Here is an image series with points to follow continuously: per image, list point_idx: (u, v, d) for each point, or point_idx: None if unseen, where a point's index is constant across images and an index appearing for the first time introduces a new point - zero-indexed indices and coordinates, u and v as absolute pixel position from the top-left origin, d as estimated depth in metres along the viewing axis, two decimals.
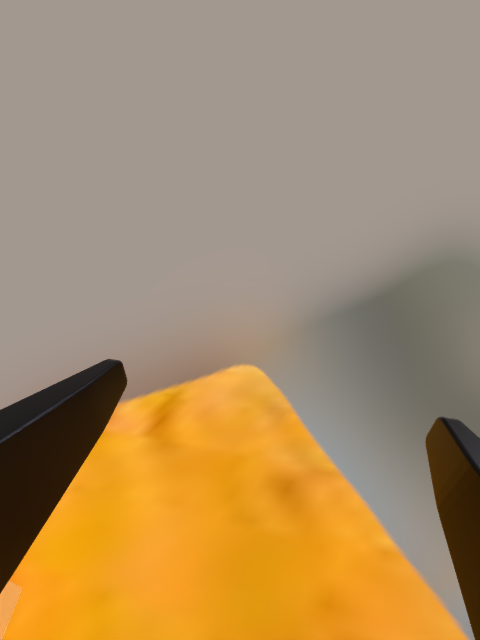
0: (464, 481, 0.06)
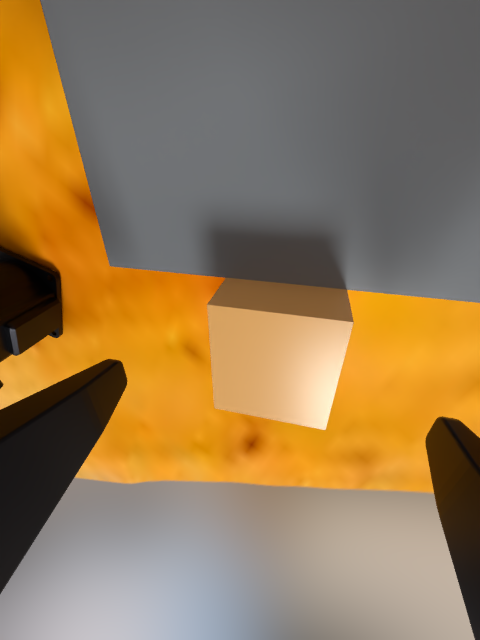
0: (464, 481, 0.06)
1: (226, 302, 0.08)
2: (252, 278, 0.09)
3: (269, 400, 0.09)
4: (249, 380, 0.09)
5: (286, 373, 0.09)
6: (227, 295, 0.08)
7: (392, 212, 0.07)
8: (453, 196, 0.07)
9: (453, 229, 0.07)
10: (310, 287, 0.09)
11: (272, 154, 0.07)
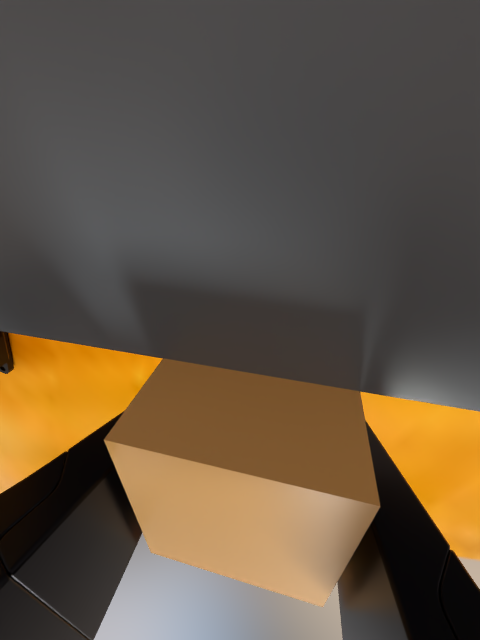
0: None
1: (142, 431, 0.04)
2: (203, 363, 0.06)
3: (231, 563, 0.06)
4: (195, 536, 0.05)
5: (255, 541, 0.05)
6: (150, 409, 0.05)
7: (455, 277, 0.04)
8: None
9: None
10: (298, 385, 0.05)
11: (219, 161, 0.04)
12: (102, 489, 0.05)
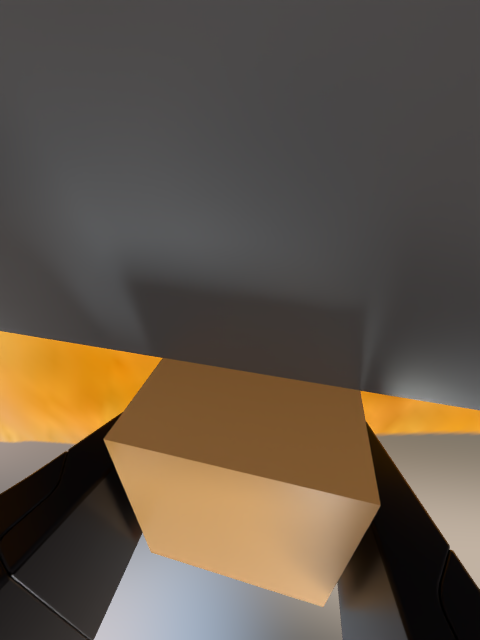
0: None
1: (142, 430, 0.04)
2: (203, 362, 0.06)
3: (231, 563, 0.06)
4: (195, 535, 0.05)
5: (255, 541, 0.05)
6: (150, 408, 0.05)
7: (455, 275, 0.04)
8: None
9: None
10: (298, 384, 0.05)
11: (219, 159, 0.04)
12: (102, 489, 0.05)
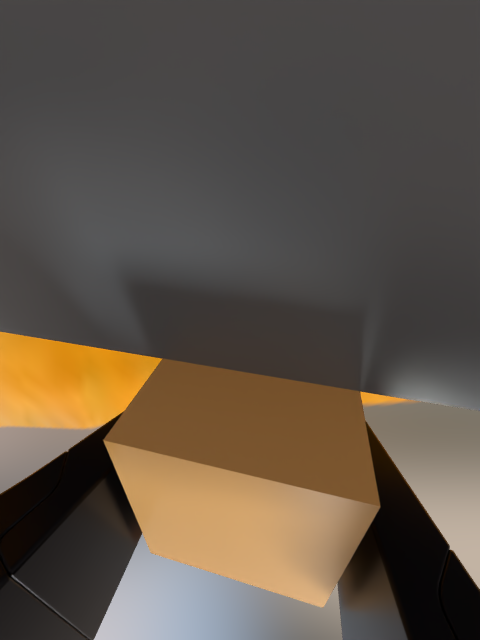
0: None
1: (141, 432, 0.04)
2: (203, 363, 0.06)
3: (231, 563, 0.06)
4: (194, 537, 0.05)
5: (255, 542, 0.05)
6: (149, 410, 0.05)
7: (455, 276, 0.04)
8: None
9: None
10: (298, 385, 0.05)
11: (218, 161, 0.04)
12: (102, 489, 0.05)
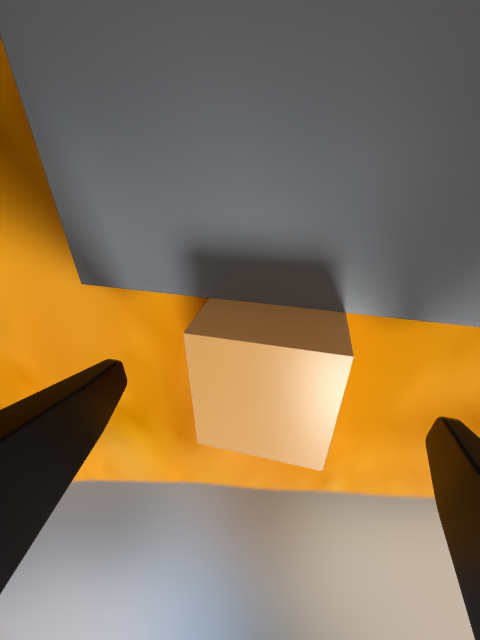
0: (464, 481, 0.06)
1: (206, 330, 0.07)
2: (238, 299, 0.08)
3: (258, 438, 0.08)
4: (234, 415, 0.08)
5: (277, 409, 0.07)
6: (208, 320, 0.07)
7: (397, 226, 0.06)
8: (470, 208, 0.06)
9: (469, 245, 0.06)
10: (304, 310, 0.08)
11: (257, 159, 0.06)
12: None
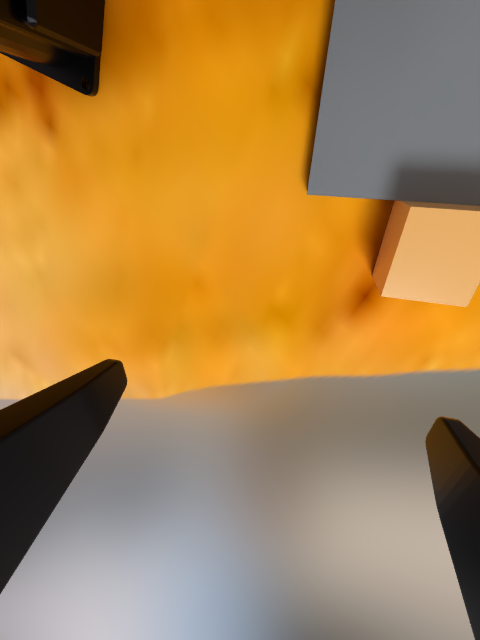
0: (464, 481, 0.06)
1: (421, 206, 0.12)
2: (420, 200, 0.14)
3: (429, 285, 0.14)
4: (419, 267, 0.13)
5: (452, 258, 0.13)
6: (416, 204, 0.13)
7: None
8: None
9: None
10: (464, 205, 0.13)
11: (464, 108, 0.12)
12: None
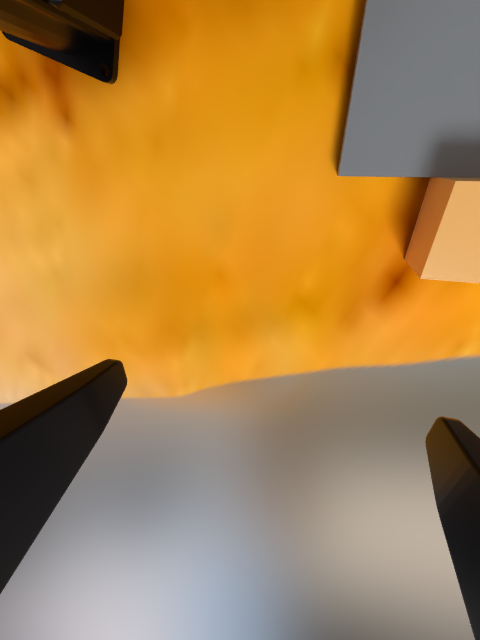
0: (464, 481, 0.06)
1: (466, 180, 0.12)
2: (460, 176, 0.13)
3: (473, 264, 0.13)
4: (463, 246, 0.13)
5: None
6: (459, 179, 0.12)
7: None
8: None
9: None
10: None
11: None
12: None
